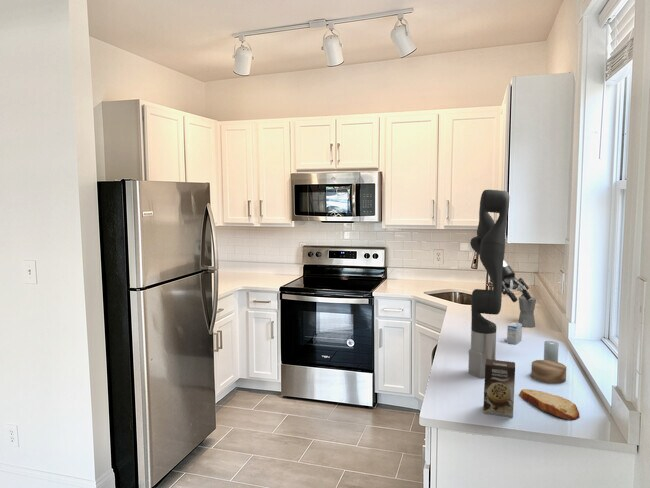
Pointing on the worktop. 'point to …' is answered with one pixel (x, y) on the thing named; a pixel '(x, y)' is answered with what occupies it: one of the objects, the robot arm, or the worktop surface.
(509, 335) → the medicine box
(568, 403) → the bread slice
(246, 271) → the worktop surface
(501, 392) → the coffee box
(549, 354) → the dome-topped grey cylinder
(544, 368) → the walnut round
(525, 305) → the coffeepot
